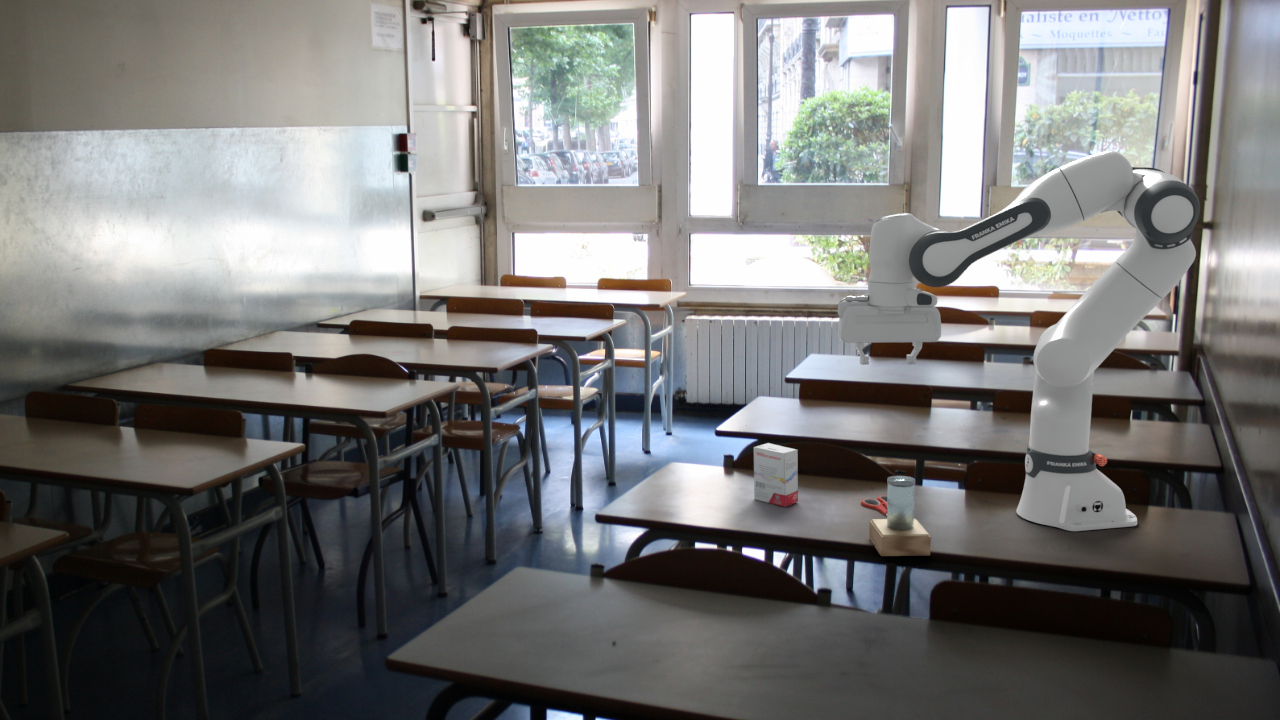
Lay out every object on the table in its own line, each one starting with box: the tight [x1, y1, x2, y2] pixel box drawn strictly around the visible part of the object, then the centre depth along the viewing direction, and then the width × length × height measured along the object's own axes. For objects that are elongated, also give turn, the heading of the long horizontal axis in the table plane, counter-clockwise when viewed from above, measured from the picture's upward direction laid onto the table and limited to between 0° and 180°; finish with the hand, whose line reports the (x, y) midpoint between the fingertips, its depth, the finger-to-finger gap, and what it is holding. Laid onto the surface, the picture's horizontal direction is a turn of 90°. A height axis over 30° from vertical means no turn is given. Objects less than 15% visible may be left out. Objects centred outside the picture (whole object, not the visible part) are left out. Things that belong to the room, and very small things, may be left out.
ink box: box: [753, 442, 799, 508], centre depth 214 cm, size 9×5×12 cm, turn 44°
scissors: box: [860, 495, 888, 517], centre depth 205 cm, size 8×21×2 cm, turn 9°
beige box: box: [868, 518, 932, 557], centre depth 187 cm, size 9×9×4 cm
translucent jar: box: [886, 475, 916, 530], centre depth 186 cm, size 5×5×9 cm
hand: (887, 364), depth 202 cm, fingers open, 8 cm apart
